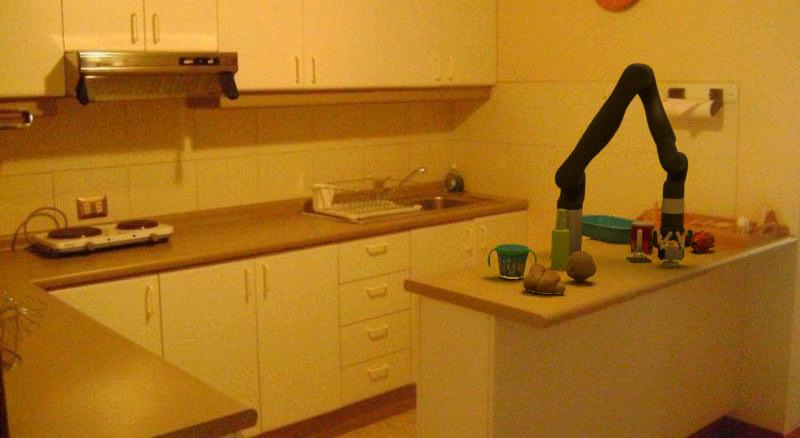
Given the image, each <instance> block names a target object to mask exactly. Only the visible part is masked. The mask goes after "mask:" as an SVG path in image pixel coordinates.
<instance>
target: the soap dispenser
mask: <svg viewBox="0 0 800 438" xmlns="http://www.w3.org/2000/svg"><path fill="white" fill-rule="evenodd" d="M564 211H567V209H559V210H558V211H557V210H556V213H557V212H559V216H558V219H557V218H556V219H555V228H556V229H555V228H552V229H551V248H550V249H551V255H550V257H551V258H550V260H551V261H550V269H552V268H554V269H553V270H557V269H565V270H566V268H567V264H568V260H569V258H570V257H569V234H570V230H568V229H566V219H564Z"/></svg>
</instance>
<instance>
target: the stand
mask: <svg viewBox="0 0 800 438" xmlns="http://www.w3.org/2000/svg"><path fill="white" fill-rule="evenodd" d="M641 249H642V230H637V251H635V252H633V253H632V256H625V260H627V261H628V262H630V263H631V264H649V263H650V264H652V263H653V260H652V259H651V258H648V257H647V256H646V254H645V252H641Z"/></svg>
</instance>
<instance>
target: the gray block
mask: <svg viewBox="0 0 800 438" xmlns="http://www.w3.org/2000/svg"><path fill="white" fill-rule="evenodd" d="M683 259H684V258H683V249H681V248H679V246H677V245H674V249H669V245H665V246H664V248H663V260H664V261H668V260H673V261H676V260H678V261H682V260H683Z"/></svg>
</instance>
